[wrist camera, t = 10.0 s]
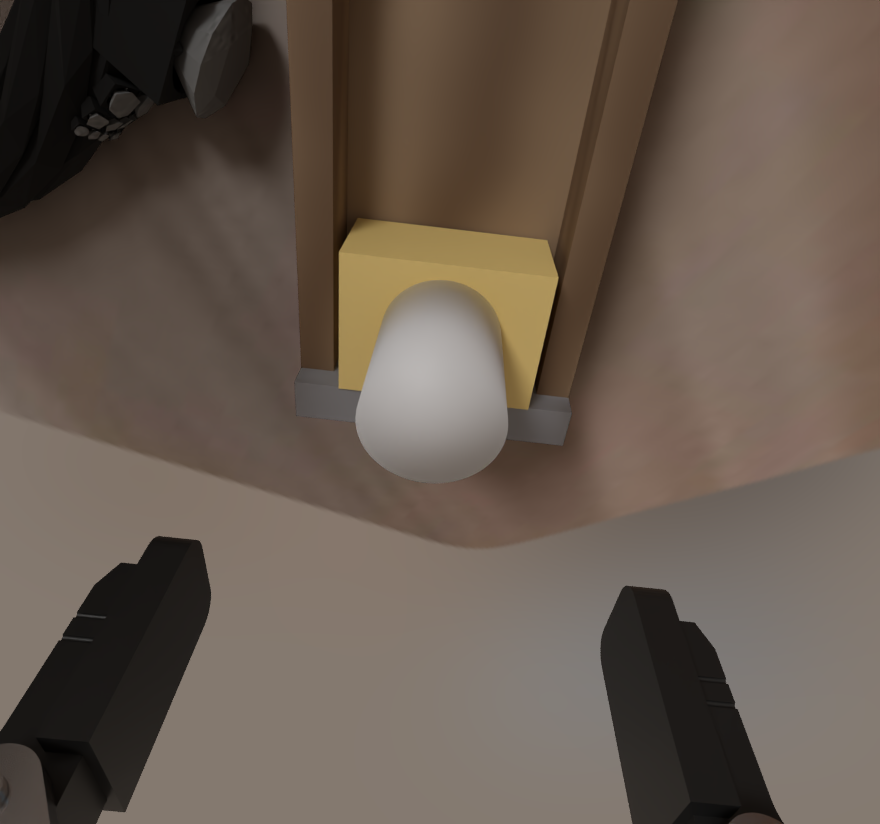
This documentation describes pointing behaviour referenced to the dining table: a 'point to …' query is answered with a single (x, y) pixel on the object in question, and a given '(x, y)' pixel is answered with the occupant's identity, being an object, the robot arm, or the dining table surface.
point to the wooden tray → (466, 151)
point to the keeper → (440, 341)
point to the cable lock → (105, 77)
